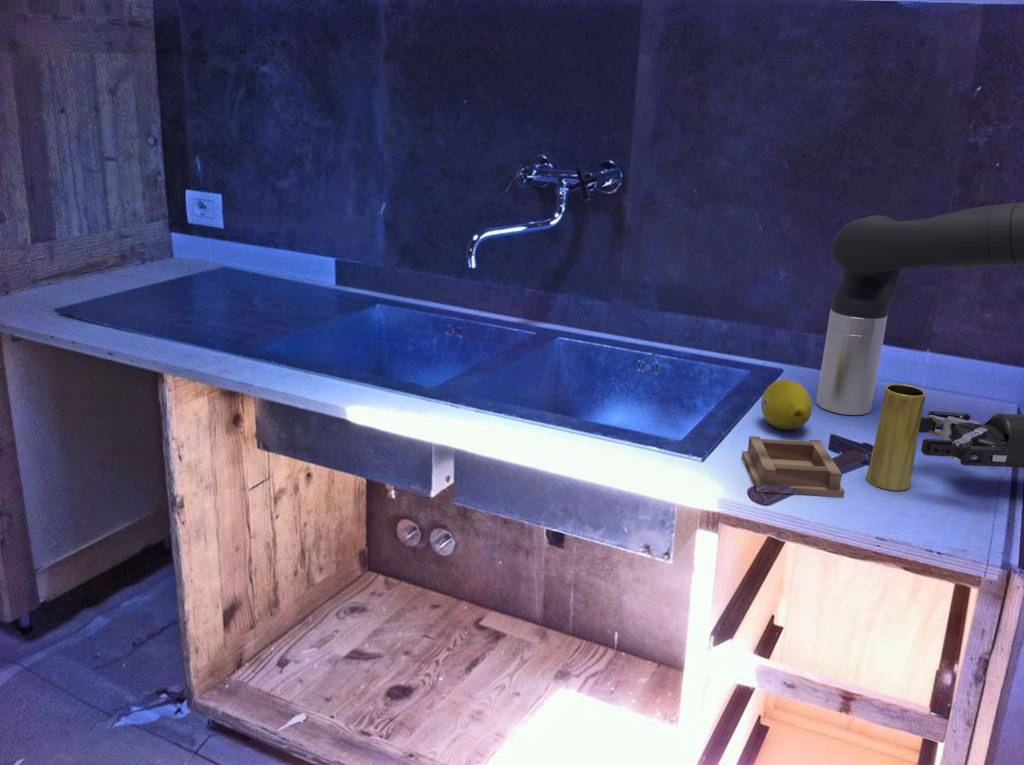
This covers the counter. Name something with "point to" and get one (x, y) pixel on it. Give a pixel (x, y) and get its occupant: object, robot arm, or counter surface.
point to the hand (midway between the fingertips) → (912, 434)
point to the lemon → (786, 405)
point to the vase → (896, 438)
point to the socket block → (793, 466)
